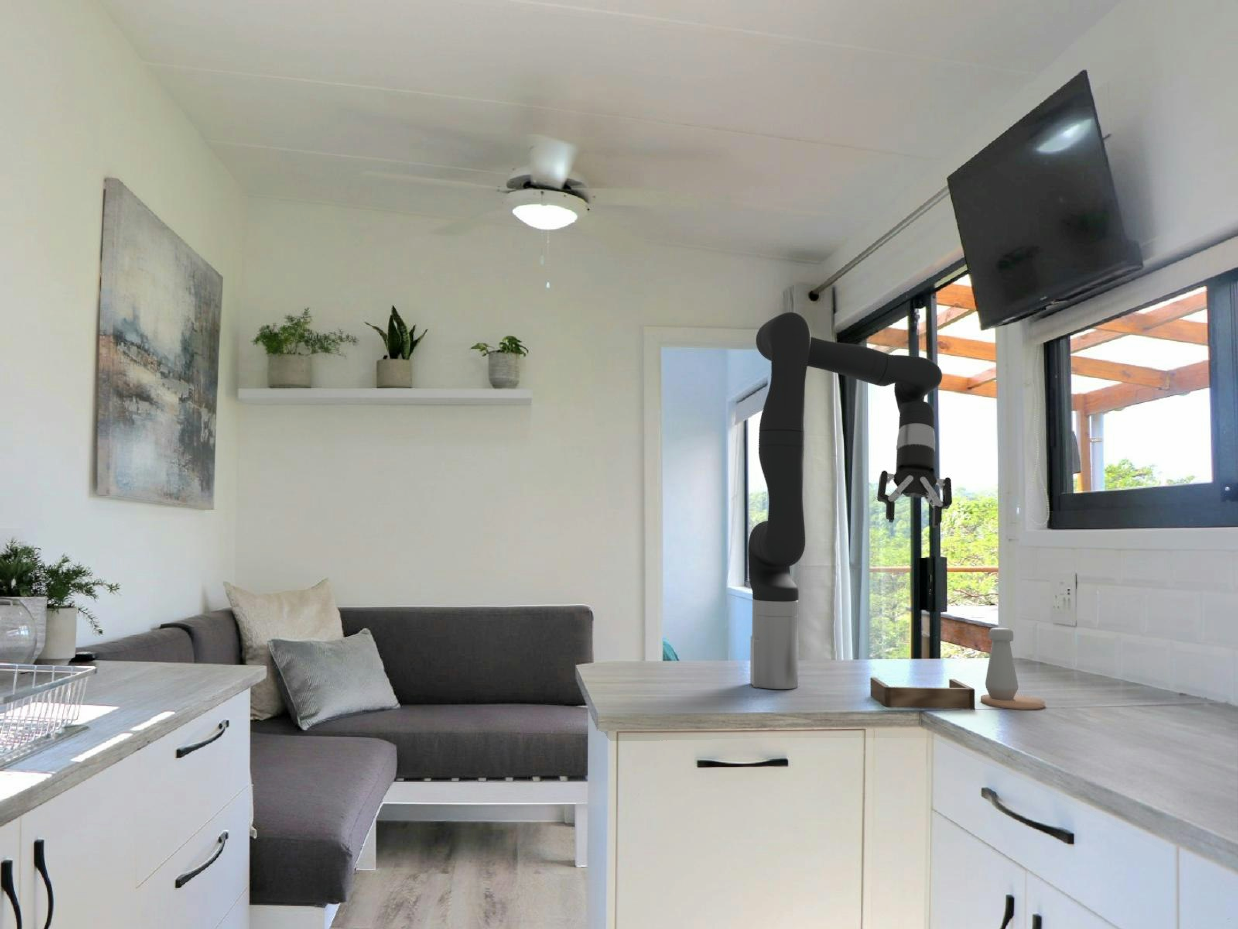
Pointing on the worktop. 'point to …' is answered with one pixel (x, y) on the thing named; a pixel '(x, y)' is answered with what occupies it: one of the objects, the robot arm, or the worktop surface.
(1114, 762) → the worktop surface
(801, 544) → the robot arm
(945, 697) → the tray
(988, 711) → the worktop surface
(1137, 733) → the worktop surface
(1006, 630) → the salt shaker
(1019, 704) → the trivet
